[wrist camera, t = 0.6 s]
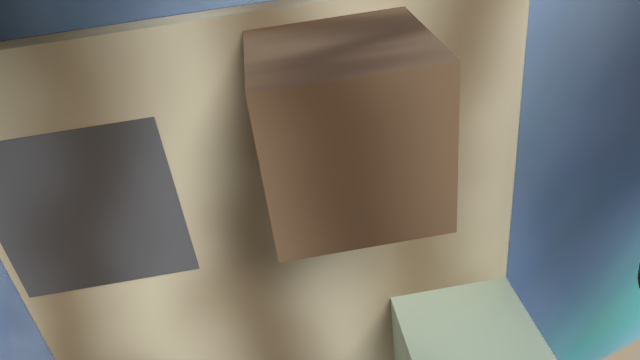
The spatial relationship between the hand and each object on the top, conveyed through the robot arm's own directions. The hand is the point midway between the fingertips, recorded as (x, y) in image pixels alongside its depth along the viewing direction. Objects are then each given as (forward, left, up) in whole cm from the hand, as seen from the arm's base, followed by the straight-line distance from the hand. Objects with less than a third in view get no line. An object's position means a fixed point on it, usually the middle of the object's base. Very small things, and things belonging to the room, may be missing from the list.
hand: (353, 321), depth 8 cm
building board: (+2, +7, -12) cm, 14 cm away
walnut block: (-1, +1, -11) cm, 11 cm away
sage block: (-5, +13, -11) cm, 18 cm away
